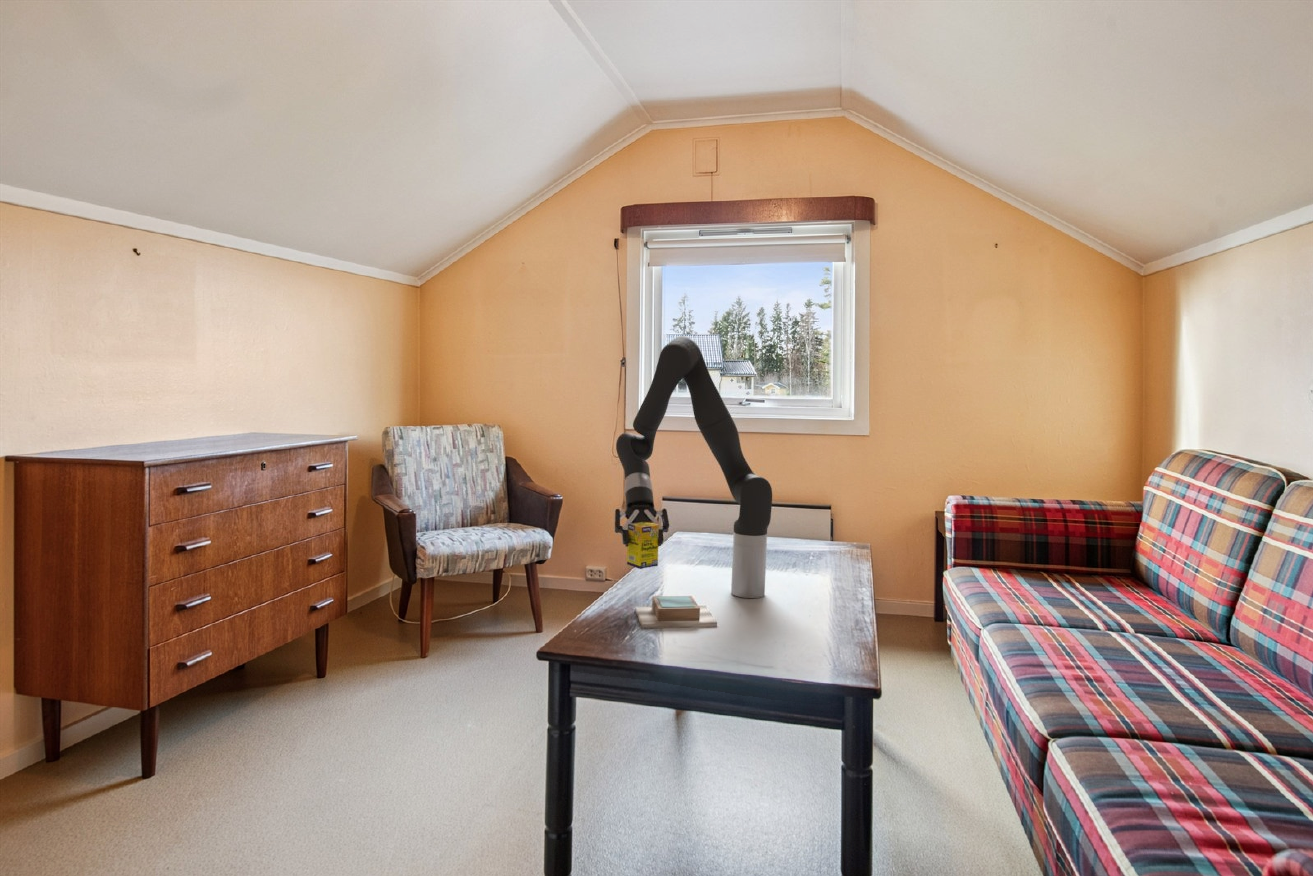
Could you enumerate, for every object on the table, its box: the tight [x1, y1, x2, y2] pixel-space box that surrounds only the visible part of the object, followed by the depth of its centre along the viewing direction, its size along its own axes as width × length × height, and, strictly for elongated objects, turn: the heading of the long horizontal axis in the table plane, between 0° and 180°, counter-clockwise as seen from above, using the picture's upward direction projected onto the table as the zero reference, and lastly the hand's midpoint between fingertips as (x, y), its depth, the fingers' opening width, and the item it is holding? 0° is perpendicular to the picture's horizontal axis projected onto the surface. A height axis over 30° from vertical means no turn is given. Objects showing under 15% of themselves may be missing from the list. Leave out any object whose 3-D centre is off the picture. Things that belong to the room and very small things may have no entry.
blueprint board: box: [635, 595, 718, 629], centre depth 174 cm, size 13×18×4 cm
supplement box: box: [626, 522, 659, 570], centre depth 183 cm, size 6×6×11 cm
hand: (643, 544), depth 182 cm, fingers closed on supplement box, 8 cm apart
